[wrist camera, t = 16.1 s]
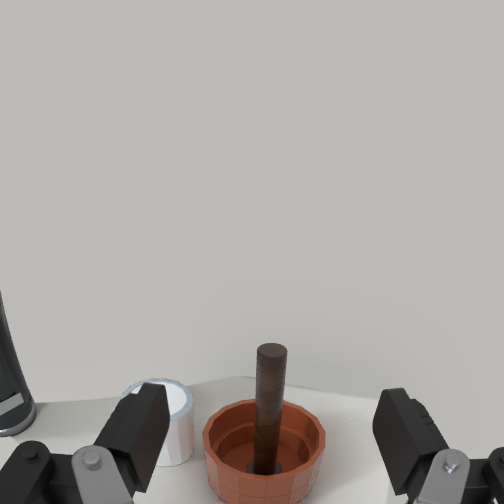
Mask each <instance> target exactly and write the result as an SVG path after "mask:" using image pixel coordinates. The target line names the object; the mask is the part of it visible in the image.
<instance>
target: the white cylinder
mask: <svg viewBox="0 0 504 504" xmlns="http://www.w3.org/2000/svg"><path fill="white" fill-rule="evenodd" d="M144 382H148V383H155V384H162V385H165V387H166V393H167V399H168V405H169V411H170V426H169V430H168V433H167V436H166V438H165V441H164V444H163V447H162V449H161V452H160V455H159V457H158V460H157V463H156V465H158V466H175V465H178V464H181V463H183V462H185V461H186V460H187V459H189V458H190V456H191V454H192V452H193V411H194V401H193V393H192V392H191V391H190V389H189V388H188V387H187V386H185V385H183V384H182V383H180V382H178V381H174V380H170V379H148V380H144V381H140V382H138V383H136V384H134V385H132V386H130V387H129V388H128V389H127V390H126V391H125V392H124V393H123V394H122V397H121V399H122V398H124V397H125V396H127V395H128V394H129V393H135V394H137V393H138V392H139V390H140V388H141V386H142V385H143V383H144Z"/></svg>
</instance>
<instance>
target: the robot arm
mask: <svg viewBox="0 0 504 504" xmlns="http://www.w3.org/2000/svg"><path fill="white" fill-rule="evenodd" d="M35 415H36V405H35V403H34V400H33V398H32V396H31V394H30V391H29V389H28V387H27V385H26V381H25V379H24V376H23V373H22V370H21V367H20V364H19V361H18V358H17V355H16V352H15V348H14V345H13V341H12V338H11V335H10V331H9V327H8V323H7V319H6V315H5V310H4V306H3V301H2V297H1V292H0V437H8V436H12V435H15V434H18V433H20V432H21V431H23V430H24V429H26V428H27V427H28V426H29V425H30V424H31V423H32V421H33V420H34V418H35ZM169 426H170V411H169V405H168V399H167V393H166V387H165V385H162V384H155V383H148V382H144V383H143V385H142V386H141V388H140V390H139V392H138V393H137V394H135V393H129V394H128V395H127V396H125V397H124V398H122V399H121V400H120V401H119V403H118V405H117V406H116V408H115V411H113V413H112V414H111V416H110V418H109V419H108V421H107V423H106V424H105V426H104V428H103V429H102V431H101V433H100V434H99V436H98V438H97V439H96V441H95V443H94V444H93V445H90V446H85V447H82V448H80V449H79V450H77V451H76V452H75V453H74V455H65V454H53V453H50V451H49V450H48V448H47V447H46V446H45V445H44V444H43V443H41V442H38V441H26V442H23V443H21V444H20V445H19V446H17V448H16V449H15V450H14V452H13V453H12V455H11V456H10V458H9V459H8V460H7V462H6V463H5V465H4V466H3V468H2V469H1V471H0V504H134V502H133V500H132V498H133V496H134V493H135V491H138V492H143V493H146V490H147V488H148V485H149V482H150V479H151V477H152V474H153V471H154V468H155V466H156V463H157V460H158V457H159V455H160V452H161V449H162V447H163V444H164V441H165V438H166V436H167V433H168V430H169ZM373 434H374V436H375V439H376V442H377V444H378V447H379V450H380V453H381V455H382V458H383V461H384V464H385V467H386V469H387V472H388V475H389V478H390V481H391V484H392V486H393V489H394V492H395V495H396V496H397V495H402V494H406V493H407V496H408V500H407V501H406V503H405V504H494V501H493V500H494V498H496V500H497V502H498V504H504V447H501V448H497V449H495V450H494V451H493V452H492V453H491V454H490V456H489V457H488V459H468V457H467V456H466V455H465V454H464V453H463V452H461V451H459V450H456V449H450V448H449V447H448V445H447V443H446V441H445V440H444V438H443V436H442V435H441V433H440V431H439V430H438V428H437V426H436V425H435V424H434V421H433V420H432V418H431V417H429V413H428V411H427V410H426V408H425V407H424V406H423V405H422V404H421V403H419V402H418V401H417V400H416V399H410V398H409V396H408V395H407V393H406V391H405V390H404V389H403V388H394V389H386V390H383V391H382V393H381V396H380V400H379V403H378V406H377V409H376V412H375V415H374V419H373Z"/></svg>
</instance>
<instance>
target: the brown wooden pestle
mask: <svg viewBox="0 0 504 504" xmlns="http://www.w3.org/2000/svg"><path fill="white" fill-rule="evenodd" d="M286 361H287V349H286V348H285V347H284V346H283V345H280V344H276V343H266V344H263V345H261V346H259V347H258V349H257V368H256V398H255V426H254V453H253V459H252V460H251V461H250V462H249V463H248V464H247V466H246V473H249V474H256V475H264V476H269V475H275V474H281V473H282V466H281V464H280V463H279V462H278V461H277V452H278V444H279V435H280V425H281V416H282V406H283V395H284V385H285V372H286Z"/></svg>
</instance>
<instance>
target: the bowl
mask: <svg viewBox="0 0 504 504" xmlns="http://www.w3.org/2000/svg"><path fill="white" fill-rule="evenodd" d="M254 426H255V399H251V400H242V401H239V402H236V403H234V404H231V405H228V406H225V407H223V408H222V409H220V410H219V411H218V412H217V413H215V414H214V415H213V416H212V417H210V418H209V420H208V422H207V424H206V426H205V428H204V430H203V432H202V435H203V443H204V452H205V460H206V467H207V474H208V481H209V485H210V486H211V487H212V489H213V490H214V491H215V493H216V494H217V495H218V496H219V498H220V499H222V500H224V501H225V502H227V503H229V504H295V503H297V502H299V501H300V500H302V499H303V498H305V497H306V496H307V494H308V493H309V491H310V490H311V488H312V487H313V485H314V484H315V482H316V478H317V475H318V471H319V468H320V464H321V460H322V457H323V453H324V449H325V431H324V429H323V427H322V426H321V424H320V422H319V421H318V419H317V417H315V416H314V415H312V414H311V413H310V412H308V411H307V410H306V409H304V408H303V407H301V406H298V405H295V404H292V403H289V402H286V401H283V406H282V416H281V425H280V435H279V444H278V452H277V461H278V462H279V463H280V464H281V466H282V473H281V474H275V475H269V476H264V475H256V474H249V473H246V466H247V464H248V463H249V462H250V461H251V460H252V459H253V453H254Z"/></svg>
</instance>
